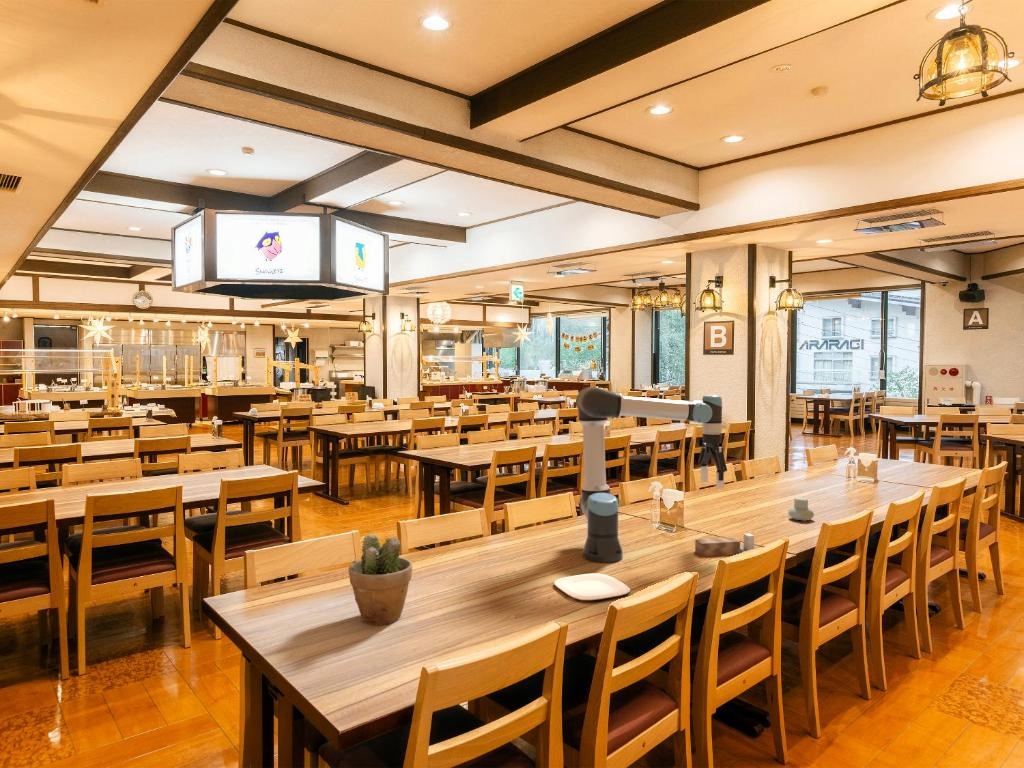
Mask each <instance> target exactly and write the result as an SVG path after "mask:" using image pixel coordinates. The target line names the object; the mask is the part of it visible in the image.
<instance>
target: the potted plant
mask: <svg viewBox="0 0 1024 768" xmlns="http://www.w3.org/2000/svg"><path fill="white" fill-rule="evenodd" d="M361 543H362V546H361V551H362V554H361V557H360V560H356V561H354V562H353V563H351V564H350V565H349V567H348V575H349V576H348V577H349V583H350V585H351V586H352V591H353V595H354V600H355V602H356V605H357V608H358V611H359V613H360V617H361V618H360V619H361V621H362V622H363V623H364V624H366V625H370V626H385V625H390V624H393V623H395V622H397V621H398V620H400V618H401V616H402V613H403V610H404V607H405V603H406V599H407V594H408V591H409V584H410V581H411V580H412V573H413V562H412V561H411V560H409V559H408V558H407V559H406V558H404V557H400V551H401V547H402V545H401V542H400V539H399V538H397V537H388V538H386V539H385V542H384V543H383V544H382V545H380V544H381V542H380V541H379V538H378V536H377V535H376V534H367V535H365V536H364V538H363V540H362V541H361Z"/></svg>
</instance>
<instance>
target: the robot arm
mask: <svg viewBox="0 0 1024 768" xmlns="http://www.w3.org/2000/svg"><path fill="white" fill-rule="evenodd" d="M722 398H723V397H721V396H720V395H715V394H714V395H713V394H712V395H711V394H710V395H709V394H707V395H703V396H702V399H700V400H684V399H683V400H675V399H674V400H671V399H662V398H651V397H650V398H649V397H642V396H641V397H639V396H630V395H629V396H627V395H624V394H622V393H621V392H614V391H609V390H605V389H603V388H600V387H597V386H586V387H585V388H583V389H581V390H580V391H579V393H578V394H577V396H576V400H575V401H576V402H575V403H576V407H577V410H578V413H577V415H578V421H579V423H580V424H581V425H582V443H583V444H582V446H583V447H582V448H583V470H584V484H583V485H582V486H581V487H580V488H581V489H580V490H581V491H580V493H581V494H580V495H581V496H580V500H579V507H580V510H581V512H582V513H583V515H584V516H585V517H586V519H587V537H586V541H585V543H584V546H583V549H582V557H583V558H584V559H586V560H588V561H591V562H595V563H615V562H619V561H621V560H622V559H623V557H624V556H623V555H624V554H623V553H624V552H623V549H622V545H621V542H620V539H619V501H618V498H617V497H616V496H615V495H613V494H611V487H610V485H609V484H607V473H606V449H605V448H606V446H605V445H606V443H605V423H607V421H608V419H609V418H615V419H616V418H617V419H619V418H621V416H625V417H634V418H635V417H637V418H649V419H657V420H659V419H661V420H672V421H683V422H693V423H698V424H702V429H701V430H702V431H701V432H702V433H703V434H702V443H701V449H700V453H699V457H698V463H697V464H699V465H700V482H701V483H708V482H709V480H708V479H709V461H710V460H711V458H712V459H713V462H714V465H715V468H716V479H715V480H716V483H715V485H716V488H715V489H717V490H719V489H720V490H721V489H722V490H724V483H725V481H724V479H725V478H724V477H725V474H724V473H725V472H728V467H727V462H726V458H725V456H724V455H725V454H724V447H723V446H719V445H720V444H721V443H722V442H723V434H721V433H722V431H723V420H722V419H723V400H722Z"/></svg>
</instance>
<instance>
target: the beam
mask: <svg viewBox="0 0 1024 768" xmlns="http://www.w3.org/2000/svg"><path fill="white" fill-rule="evenodd" d="M694 541H695V542H694V543H695V544H694V545H695V546H694V547H695V548H694V551H695V553H697V554H698V555H700V556H701V557H702V556H703V557H704V556H706V555H707V556H718V555H719V556H721V555H723V556H724V555H736V553H740V554H741V551H740V546H741V541H740V540H739V539H736V538H735V537H722V538H721V537H719V538H703V539H701V538H700V539H695V540H694Z"/></svg>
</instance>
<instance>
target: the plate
mask: <svg viewBox="0 0 1024 768" xmlns="http://www.w3.org/2000/svg"><path fill="white" fill-rule="evenodd" d="M554 586H555V587H556V588H557V589H558V590H560V591H561V592H563V594H565V595H567V596H568V597H570V598H572V599H574V600H579V601H585V602H586V601H587V602H591V601H593V602H594V601H600V600H606V599H613V598H617V597H618V598H619V597H621V596H625V595H628V594H629V593H630V592H631V589H630V587H629V586H627V585H626V584H625V583H623V582H621V581H620V580H618V579H617V578H614V577H612V576H611V575H608V574H604V573H584V574H583V573H581V574H577V575H576V574H575V575H572V576H565V577H561V578H558V579H556V580H554Z"/></svg>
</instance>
